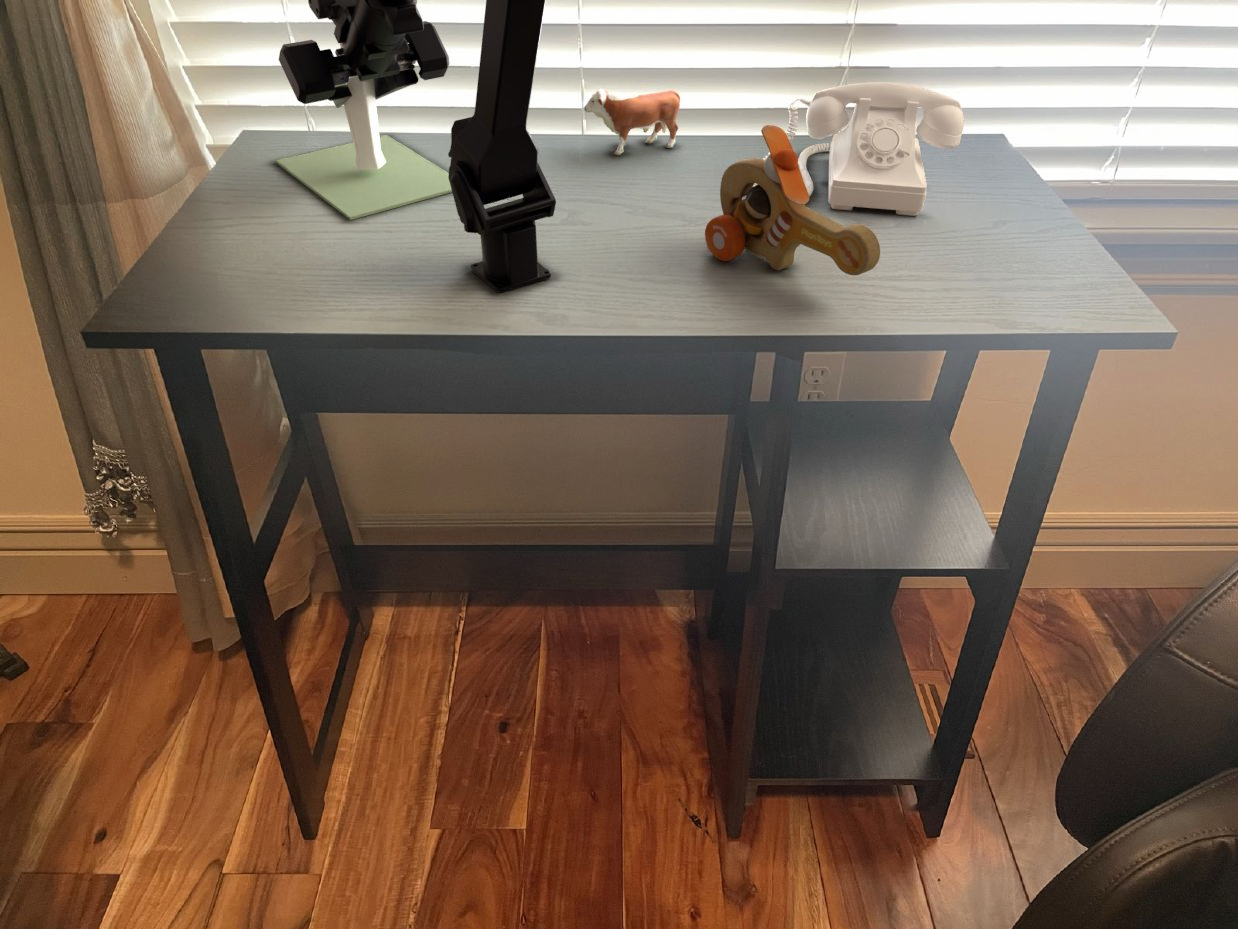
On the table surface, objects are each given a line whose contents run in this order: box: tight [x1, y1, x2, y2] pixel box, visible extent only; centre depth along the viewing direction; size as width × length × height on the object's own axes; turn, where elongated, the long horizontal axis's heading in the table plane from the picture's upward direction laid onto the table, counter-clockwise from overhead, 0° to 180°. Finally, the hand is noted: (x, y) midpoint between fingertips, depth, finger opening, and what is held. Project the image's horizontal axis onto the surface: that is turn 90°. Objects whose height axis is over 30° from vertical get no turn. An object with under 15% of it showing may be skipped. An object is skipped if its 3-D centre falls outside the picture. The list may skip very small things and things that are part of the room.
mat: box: [275, 134, 452, 221], centre depth 119 cm, size 22×16×1 cm
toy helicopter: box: [704, 124, 881, 276], centre depth 96 cm, size 8×21×14 cm, turn 39°
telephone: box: [753, 81, 965, 217], centre depth 116 cm, size 25×21×12 cm
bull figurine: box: [583, 88, 681, 156], centre depth 125 cm, size 4×13×8 cm, turn 107°
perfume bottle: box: [339, 43, 386, 170], centre depth 113 cm, size 5×4×15 cm
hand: (354, 100), depth 114 cm, fingers closed on perfume bottle, 4 cm apart
